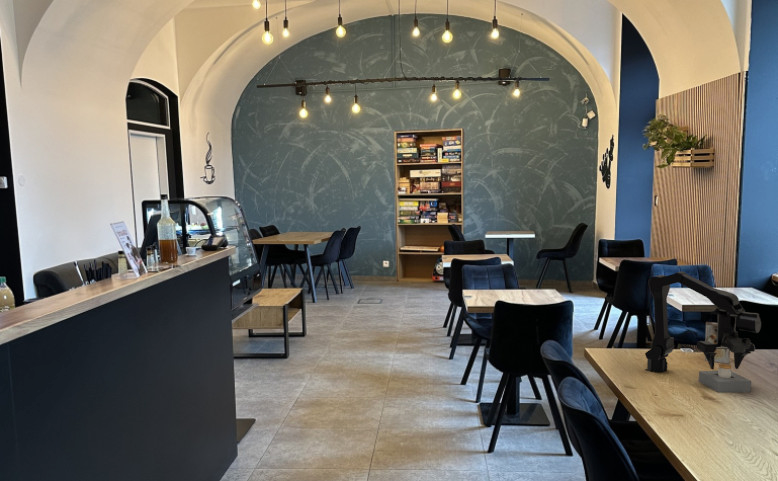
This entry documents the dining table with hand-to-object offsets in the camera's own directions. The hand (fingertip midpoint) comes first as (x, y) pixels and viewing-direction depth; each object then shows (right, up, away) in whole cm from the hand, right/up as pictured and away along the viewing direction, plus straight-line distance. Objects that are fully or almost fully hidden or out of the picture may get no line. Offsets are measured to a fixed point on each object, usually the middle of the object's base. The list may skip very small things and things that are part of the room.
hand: (724, 369), depth 207 cm
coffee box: (+18, -5, +35) cm, 40 cm away
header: (0, -8, +1) cm, 8 cm away
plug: (0, -7, 0) cm, 7 cm away
